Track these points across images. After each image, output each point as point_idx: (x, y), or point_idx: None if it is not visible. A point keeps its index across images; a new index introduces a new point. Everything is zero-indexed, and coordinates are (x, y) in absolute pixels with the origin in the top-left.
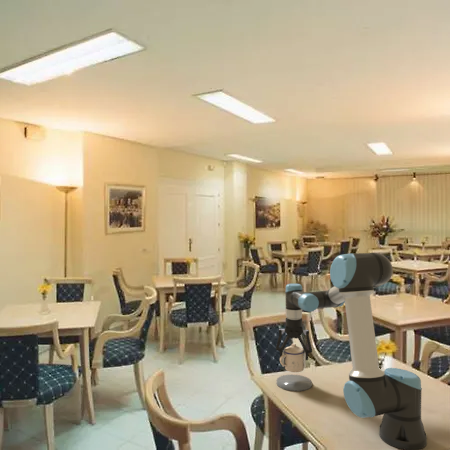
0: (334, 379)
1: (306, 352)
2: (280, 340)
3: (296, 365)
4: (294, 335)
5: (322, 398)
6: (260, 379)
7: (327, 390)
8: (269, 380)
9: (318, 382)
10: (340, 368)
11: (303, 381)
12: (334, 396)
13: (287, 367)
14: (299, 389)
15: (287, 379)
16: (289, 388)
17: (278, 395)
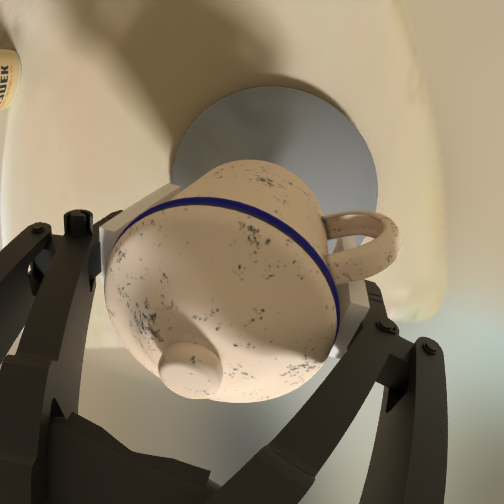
0: None
1: (80, 230)
2: (413, 452)
3: (237, 169)
4: (94, 490)
5: (163, 11)
6: (434, 270)
7: (119, 102)
8: None
9: (143, 196)
10: None
11: None
12: (107, 42)
13: (317, 205)
14: (261, 87)
15: None
16: (322, 99)
17: (397, 52)
